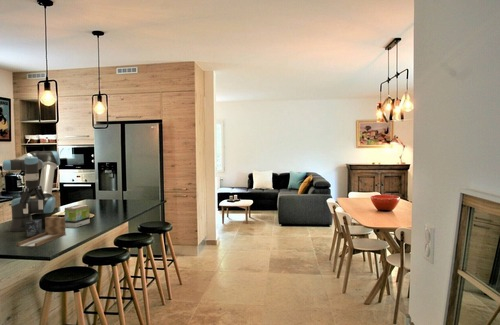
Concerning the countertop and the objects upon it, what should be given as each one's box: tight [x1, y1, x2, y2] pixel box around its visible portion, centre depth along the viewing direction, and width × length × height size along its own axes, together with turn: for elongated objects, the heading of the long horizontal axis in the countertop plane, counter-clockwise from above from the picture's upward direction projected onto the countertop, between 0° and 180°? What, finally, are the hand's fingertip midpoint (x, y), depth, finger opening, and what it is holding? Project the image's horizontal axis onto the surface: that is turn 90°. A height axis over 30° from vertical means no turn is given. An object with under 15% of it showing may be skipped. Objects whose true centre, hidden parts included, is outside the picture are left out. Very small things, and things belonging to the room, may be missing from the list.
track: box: [16, 216, 66, 248], centre depth 205 cm, size 13×26×12 cm, turn 175°
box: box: [25, 218, 43, 238], centre depth 215 cm, size 8×6×11 cm
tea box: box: [64, 204, 91, 229], centre depth 243 cm, size 15×10×15 cm
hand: (33, 211), depth 215 cm, fingers open, 13 cm apart
